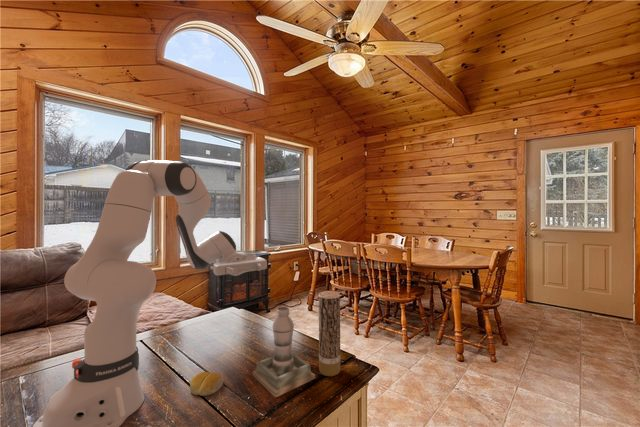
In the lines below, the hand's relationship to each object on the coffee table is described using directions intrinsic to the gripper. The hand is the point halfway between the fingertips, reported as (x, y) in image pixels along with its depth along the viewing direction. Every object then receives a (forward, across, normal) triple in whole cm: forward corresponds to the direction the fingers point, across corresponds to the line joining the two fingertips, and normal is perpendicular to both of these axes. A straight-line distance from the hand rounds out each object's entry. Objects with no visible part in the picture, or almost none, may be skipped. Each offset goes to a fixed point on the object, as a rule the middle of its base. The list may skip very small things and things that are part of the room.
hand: (247, 269), depth 106 cm
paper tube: (+28, +16, +30) cm, 44 cm away
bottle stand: (+22, +3, +30) cm, 37 cm away
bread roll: (+14, -18, +30) cm, 38 cm away
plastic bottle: (+22, +3, +29) cm, 36 cm away
